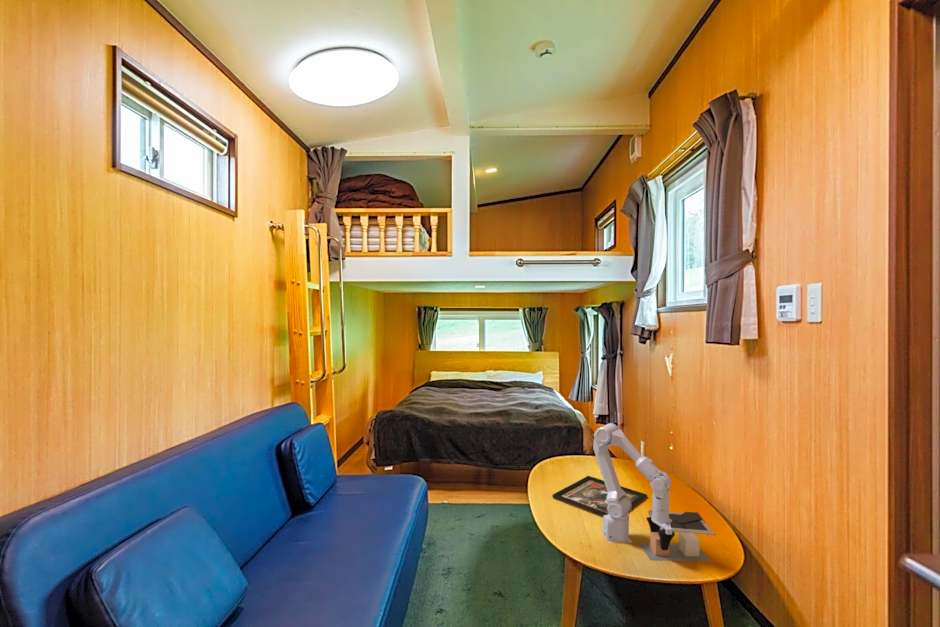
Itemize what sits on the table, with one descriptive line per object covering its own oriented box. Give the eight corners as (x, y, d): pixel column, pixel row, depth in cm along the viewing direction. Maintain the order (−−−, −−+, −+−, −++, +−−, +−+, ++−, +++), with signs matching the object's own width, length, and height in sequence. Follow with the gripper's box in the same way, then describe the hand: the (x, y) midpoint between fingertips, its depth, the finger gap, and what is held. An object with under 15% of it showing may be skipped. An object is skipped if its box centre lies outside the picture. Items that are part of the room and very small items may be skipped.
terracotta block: (655, 555, 156) (655, 539, 156) (649, 547, 161) (650, 532, 161) (669, 555, 156) (669, 539, 156) (662, 548, 161) (663, 532, 161)
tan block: (685, 556, 156) (686, 539, 156) (678, 548, 161) (679, 532, 161) (699, 556, 156) (699, 540, 156) (691, 548, 161) (692, 532, 161)
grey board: (650, 562, 153) (650, 560, 153) (638, 544, 164) (638, 543, 164) (711, 563, 153) (712, 561, 153) (695, 545, 164) (695, 544, 164)
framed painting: (624, 526, 179) (625, 519, 179) (548, 502, 200) (548, 496, 200) (649, 496, 209) (649, 490, 209) (580, 478, 230) (581, 473, 230)
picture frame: (697, 518, 187) (648, 515, 190) (697, 512, 187) (648, 508, 190) (713, 538, 172) (659, 533, 174) (714, 531, 172) (660, 526, 174)
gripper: (681, 516, 151) (680, 555, 151) (662, 498, 166) (661, 533, 166) (661, 516, 151) (660, 554, 151) (644, 498, 166) (643, 533, 166)
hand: (659, 543), depth 158 cm, fingers open, 7 cm apart
